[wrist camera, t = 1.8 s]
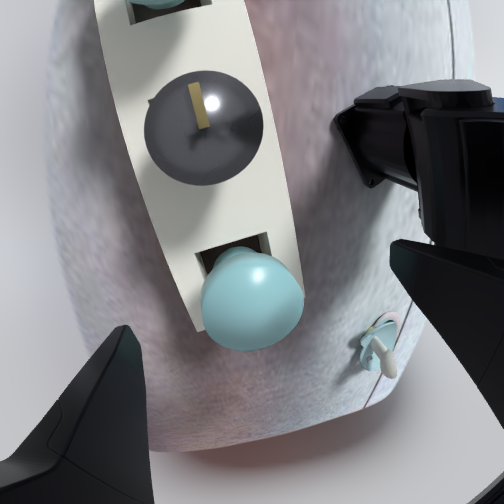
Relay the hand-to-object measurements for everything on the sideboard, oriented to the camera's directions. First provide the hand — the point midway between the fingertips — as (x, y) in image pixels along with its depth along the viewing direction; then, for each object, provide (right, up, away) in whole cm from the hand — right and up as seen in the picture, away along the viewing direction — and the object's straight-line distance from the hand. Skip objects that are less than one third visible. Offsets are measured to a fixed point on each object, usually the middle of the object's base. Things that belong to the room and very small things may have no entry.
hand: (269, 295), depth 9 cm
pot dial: (-3, +8, +5) cm, 10 cm away
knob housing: (-4, +9, +8) cm, 13 cm away
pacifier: (+14, -8, +22) cm, 27 cm away
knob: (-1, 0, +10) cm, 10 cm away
